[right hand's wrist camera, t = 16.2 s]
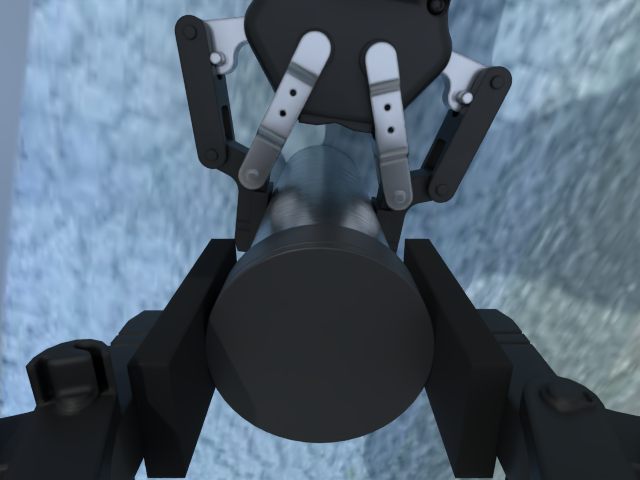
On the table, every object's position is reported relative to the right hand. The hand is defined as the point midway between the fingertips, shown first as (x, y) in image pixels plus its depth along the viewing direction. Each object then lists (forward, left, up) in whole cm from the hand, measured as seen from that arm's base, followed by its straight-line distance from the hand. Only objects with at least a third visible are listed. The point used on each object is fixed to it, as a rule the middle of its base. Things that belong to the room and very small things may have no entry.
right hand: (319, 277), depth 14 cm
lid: (0, 0, +4) cm, 4 cm away
